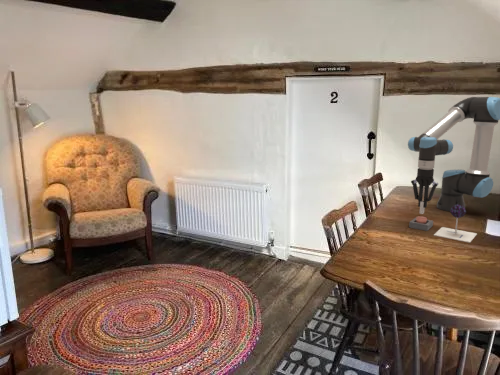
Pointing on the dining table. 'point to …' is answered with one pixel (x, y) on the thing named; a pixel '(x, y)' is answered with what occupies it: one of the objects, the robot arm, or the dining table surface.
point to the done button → (421, 219)
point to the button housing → (420, 225)
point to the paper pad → (458, 236)
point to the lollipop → (457, 213)
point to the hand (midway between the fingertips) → (421, 213)
